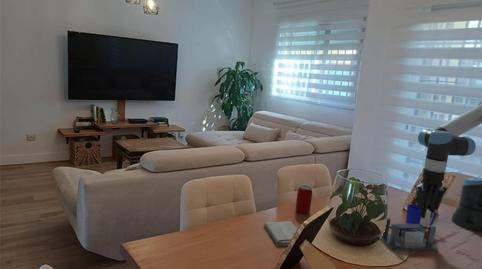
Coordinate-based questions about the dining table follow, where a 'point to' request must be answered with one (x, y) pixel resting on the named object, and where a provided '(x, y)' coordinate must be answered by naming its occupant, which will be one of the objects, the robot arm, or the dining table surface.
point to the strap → (408, 226)
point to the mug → (415, 215)
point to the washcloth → (281, 231)
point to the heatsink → (408, 238)
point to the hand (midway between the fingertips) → (424, 225)
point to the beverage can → (304, 199)
